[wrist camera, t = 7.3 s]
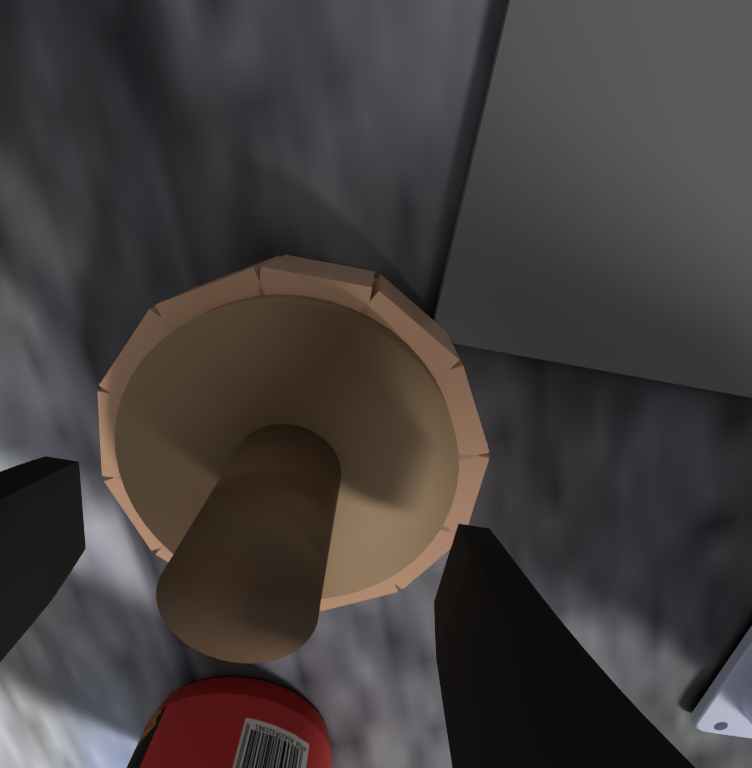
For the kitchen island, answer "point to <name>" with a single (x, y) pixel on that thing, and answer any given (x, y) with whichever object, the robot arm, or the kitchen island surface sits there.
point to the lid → (281, 467)
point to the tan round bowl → (345, 290)
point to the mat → (612, 193)
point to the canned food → (234, 728)
